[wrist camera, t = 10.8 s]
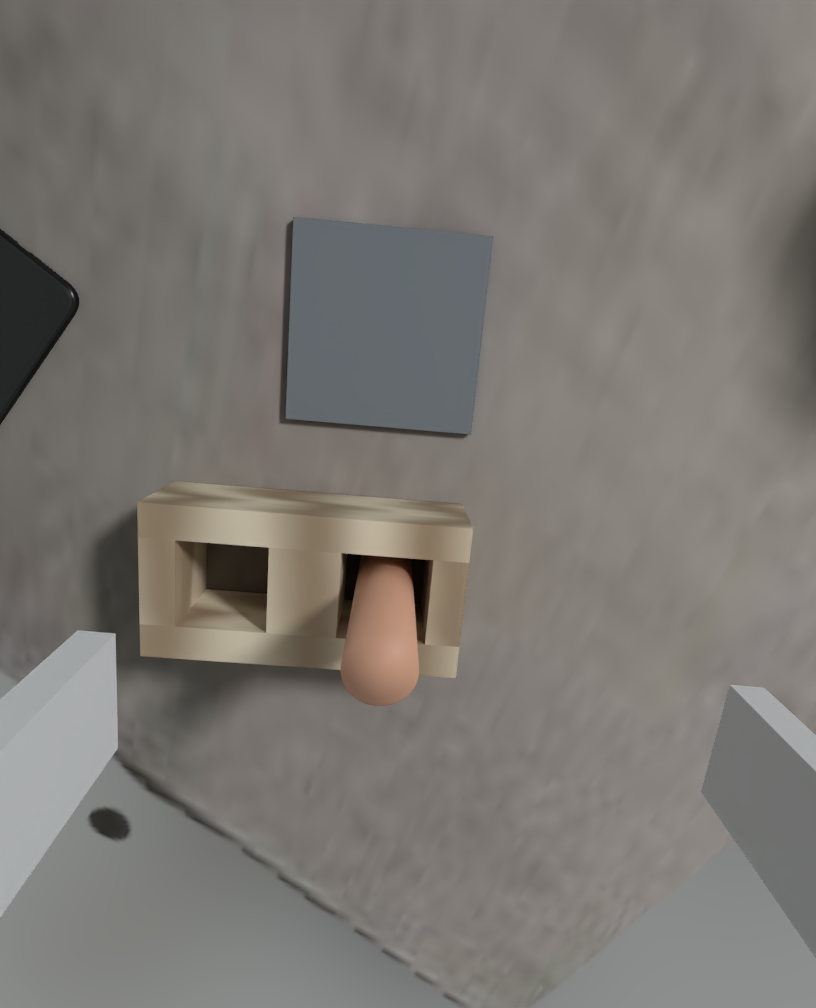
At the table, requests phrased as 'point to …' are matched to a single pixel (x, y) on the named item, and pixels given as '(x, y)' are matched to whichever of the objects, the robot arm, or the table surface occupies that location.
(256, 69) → the table surface
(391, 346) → the mat
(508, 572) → the table surface
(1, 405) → the smartphone
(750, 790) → the robot arm
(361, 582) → the peg
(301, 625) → the hole block
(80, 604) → the table surface
